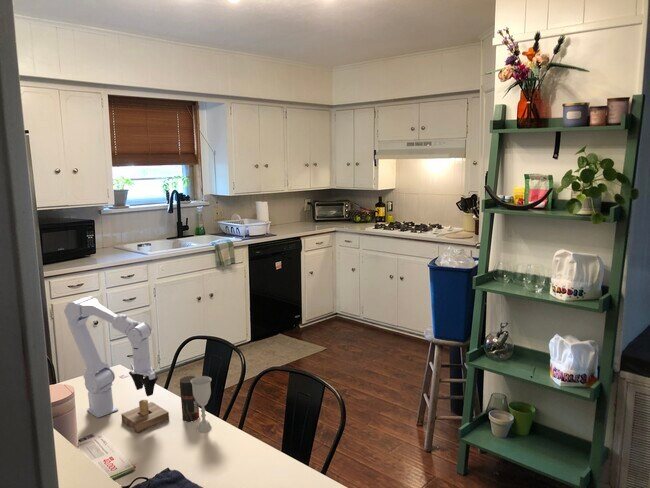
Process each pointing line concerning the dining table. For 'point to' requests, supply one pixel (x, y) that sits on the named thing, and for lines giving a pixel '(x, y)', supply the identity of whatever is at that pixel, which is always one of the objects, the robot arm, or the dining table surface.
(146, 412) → the pin
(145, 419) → the socket block
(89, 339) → the robot arm
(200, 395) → the chalice
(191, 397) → the deodorant
